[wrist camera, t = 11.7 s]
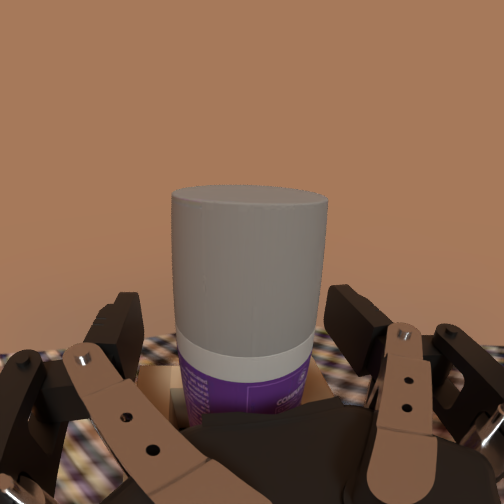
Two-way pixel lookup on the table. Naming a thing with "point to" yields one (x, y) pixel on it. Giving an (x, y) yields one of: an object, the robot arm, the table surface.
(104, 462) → the table surface
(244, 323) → the container
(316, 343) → the table surface
